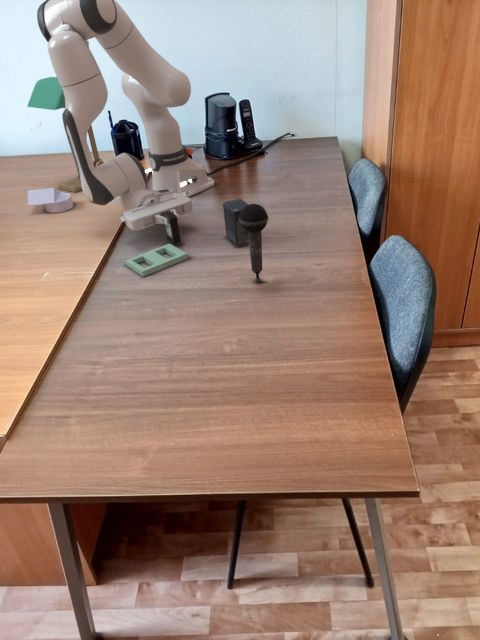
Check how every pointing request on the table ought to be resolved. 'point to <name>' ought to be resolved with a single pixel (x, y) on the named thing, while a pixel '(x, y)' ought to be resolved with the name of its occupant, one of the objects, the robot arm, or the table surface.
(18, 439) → the table surface
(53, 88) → the banker's lamp
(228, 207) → the box
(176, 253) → the holder
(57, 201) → the wedge on round base
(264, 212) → the microphone
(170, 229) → the ink cartridge
